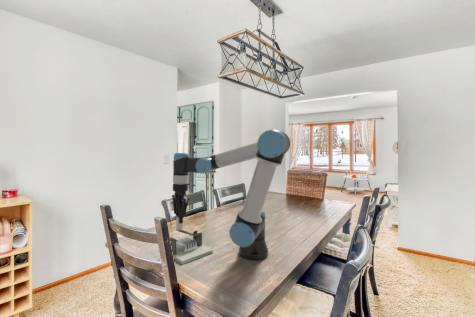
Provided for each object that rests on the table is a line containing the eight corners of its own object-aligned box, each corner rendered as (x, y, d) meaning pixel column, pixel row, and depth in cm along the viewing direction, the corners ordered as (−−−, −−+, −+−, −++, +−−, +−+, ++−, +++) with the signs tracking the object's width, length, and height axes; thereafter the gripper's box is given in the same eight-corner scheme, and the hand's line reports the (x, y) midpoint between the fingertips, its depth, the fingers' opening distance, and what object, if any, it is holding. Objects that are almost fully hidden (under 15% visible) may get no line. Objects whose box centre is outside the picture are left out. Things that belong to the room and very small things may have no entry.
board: (212, 252, 124) (212, 249, 124) (182, 264, 112) (182, 261, 112) (189, 240, 140) (189, 237, 140) (160, 249, 128) (160, 246, 128)
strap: (199, 238, 130) (200, 235, 130) (178, 232, 121) (180, 229, 121) (196, 237, 132) (197, 233, 132) (175, 231, 123) (177, 227, 123)
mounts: (202, 245, 130) (202, 232, 129) (174, 254, 118) (174, 240, 118) (196, 242, 133) (196, 230, 133) (169, 251, 122) (169, 237, 122)
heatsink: (197, 248, 125) (197, 241, 125) (184, 253, 120) (184, 245, 120) (188, 243, 132) (188, 236, 132) (175, 247, 126) (175, 240, 126)
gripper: (193, 184, 120) (192, 230, 121) (180, 181, 129) (179, 224, 130) (180, 185, 114) (179, 233, 115) (167, 182, 124) (166, 226, 125)
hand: (179, 228), depth 123 cm, fingers closed
